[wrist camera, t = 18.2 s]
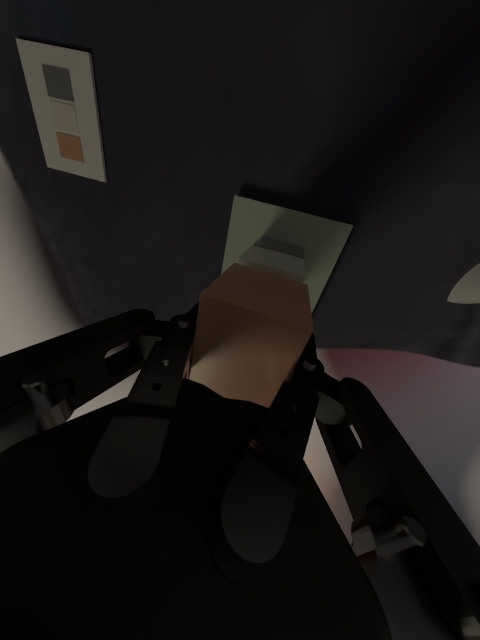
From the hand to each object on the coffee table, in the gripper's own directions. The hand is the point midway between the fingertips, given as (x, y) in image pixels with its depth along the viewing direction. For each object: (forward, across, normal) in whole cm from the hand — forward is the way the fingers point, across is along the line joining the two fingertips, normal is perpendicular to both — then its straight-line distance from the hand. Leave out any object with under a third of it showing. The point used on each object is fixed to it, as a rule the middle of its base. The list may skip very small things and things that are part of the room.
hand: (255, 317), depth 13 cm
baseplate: (+13, 0, 0) cm, 13 cm away
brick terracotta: (0, 0, 0) cm, 0 cm away
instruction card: (+13, +26, -9) cm, 30 cm away
